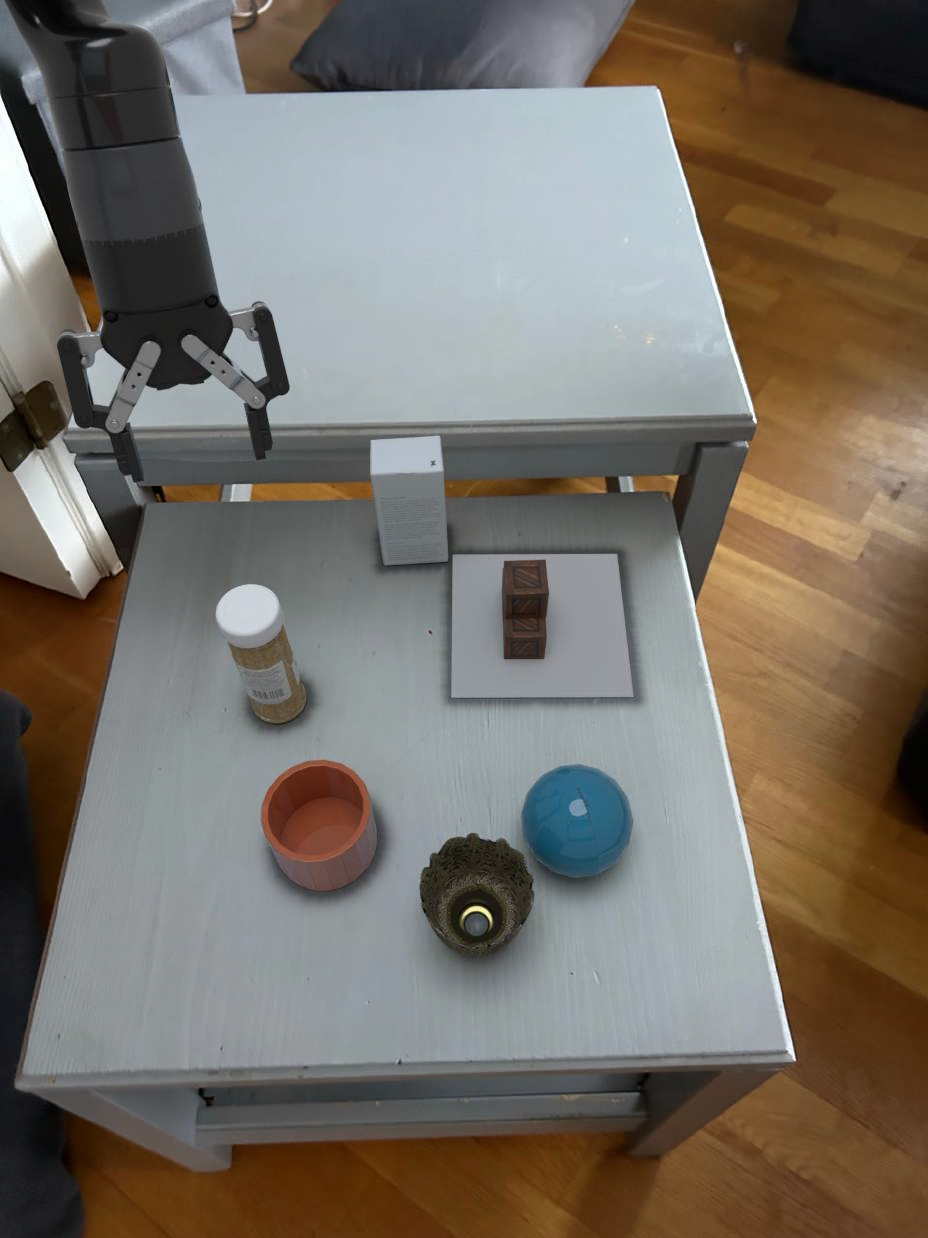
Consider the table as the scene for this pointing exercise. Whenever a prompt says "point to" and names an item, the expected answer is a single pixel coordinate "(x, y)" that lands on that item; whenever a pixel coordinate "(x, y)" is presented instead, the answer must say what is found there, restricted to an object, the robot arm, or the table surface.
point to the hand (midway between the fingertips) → (200, 467)
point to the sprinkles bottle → (262, 651)
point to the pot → (320, 824)
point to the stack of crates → (538, 627)
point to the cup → (476, 893)
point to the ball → (576, 821)
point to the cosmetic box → (409, 499)
